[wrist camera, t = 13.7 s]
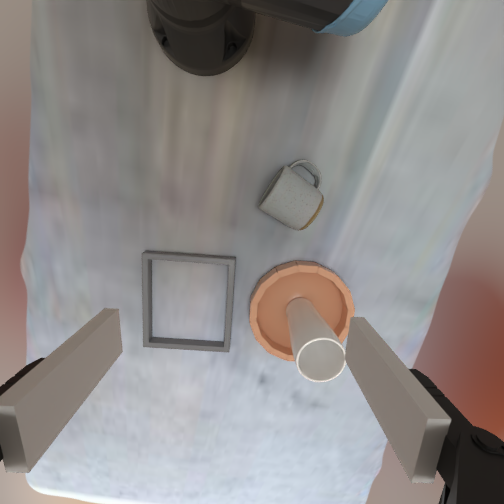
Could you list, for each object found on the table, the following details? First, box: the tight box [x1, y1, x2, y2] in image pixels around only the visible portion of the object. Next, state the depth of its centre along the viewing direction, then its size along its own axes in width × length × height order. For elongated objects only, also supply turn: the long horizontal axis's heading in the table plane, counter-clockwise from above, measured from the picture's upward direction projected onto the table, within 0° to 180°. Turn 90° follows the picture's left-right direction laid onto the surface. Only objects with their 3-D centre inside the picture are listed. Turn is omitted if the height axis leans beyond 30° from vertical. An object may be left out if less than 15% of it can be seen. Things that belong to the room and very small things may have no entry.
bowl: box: [249, 261, 355, 361], centre depth 47 cm, size 18×18×3 cm
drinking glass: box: [286, 298, 346, 382], centre depth 41 cm, size 7×7×15 cm
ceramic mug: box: [258, 160, 324, 230], centre depth 41 cm, size 11×8×8 cm
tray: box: [142, 251, 236, 352], centre depth 47 cm, size 18×16×2 cm
